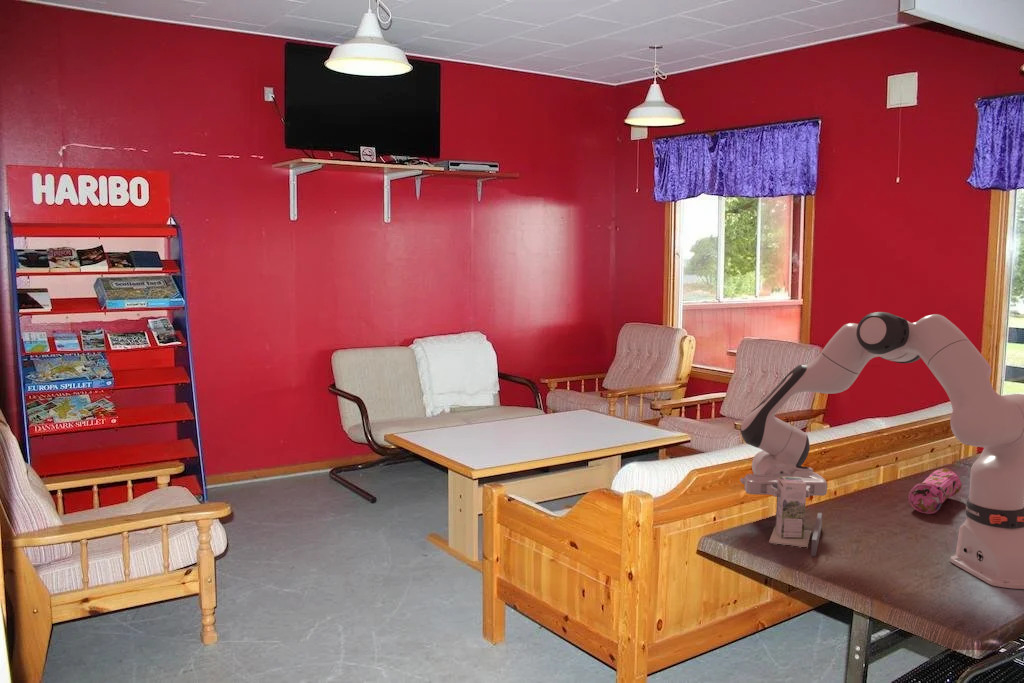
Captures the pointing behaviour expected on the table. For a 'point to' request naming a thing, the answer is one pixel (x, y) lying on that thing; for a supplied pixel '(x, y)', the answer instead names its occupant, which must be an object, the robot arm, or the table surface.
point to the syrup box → (791, 507)
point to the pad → (791, 539)
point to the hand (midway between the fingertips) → (792, 494)
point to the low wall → (816, 534)
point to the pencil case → (934, 491)
